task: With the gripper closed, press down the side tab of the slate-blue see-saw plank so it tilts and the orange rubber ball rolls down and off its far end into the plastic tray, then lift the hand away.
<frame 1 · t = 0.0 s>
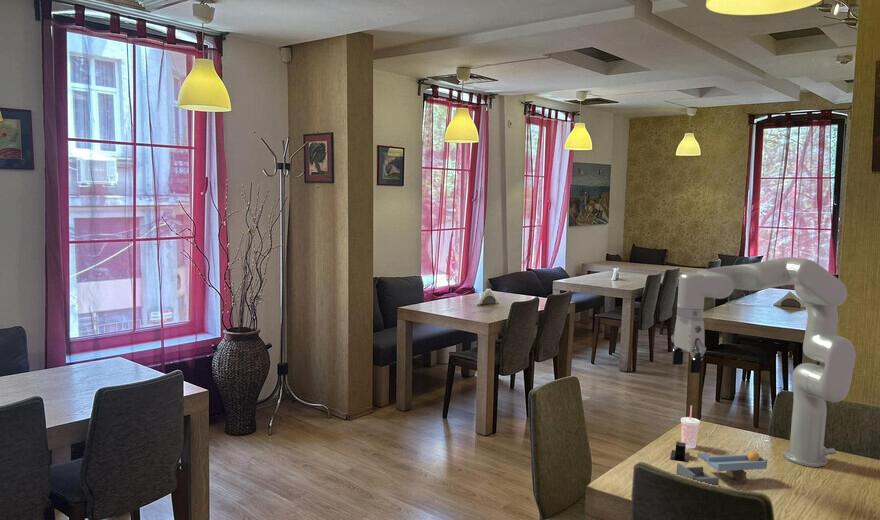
hand: (686, 368, 207), 31 cm above the table, tool pointing down, fingers open, 9 cm apart
tray: (696, 481, 199), on the table
beverage cup: (688, 446, 228), on the table
lever: (731, 458, 204), point 5 cm above the table, hinge at 0.0°, touching ball
fulcrum: (735, 479, 202), on the table
black boxy piece: (679, 458, 219), on the table
ball: (753, 457, 202), point 7 cm above the table, touching lever
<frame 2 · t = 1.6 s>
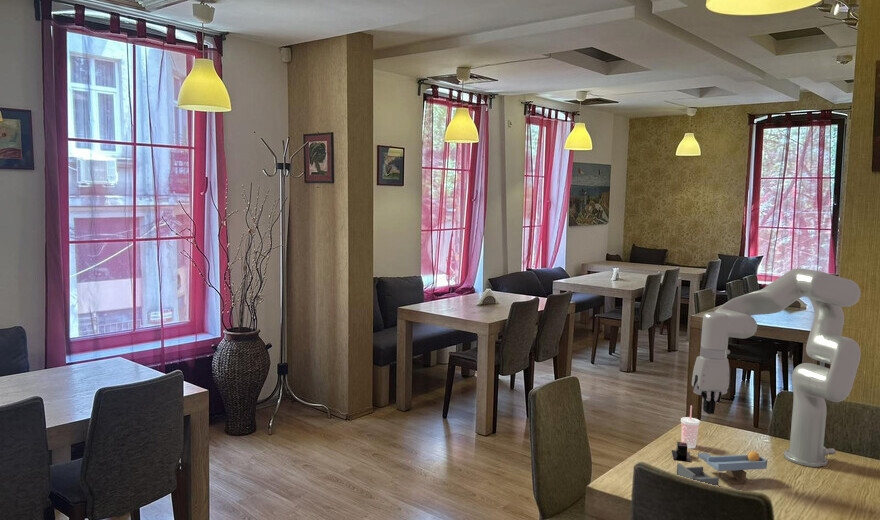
hand: (708, 412, 205), 19 cm above the table, tool pointing down, fingers closed
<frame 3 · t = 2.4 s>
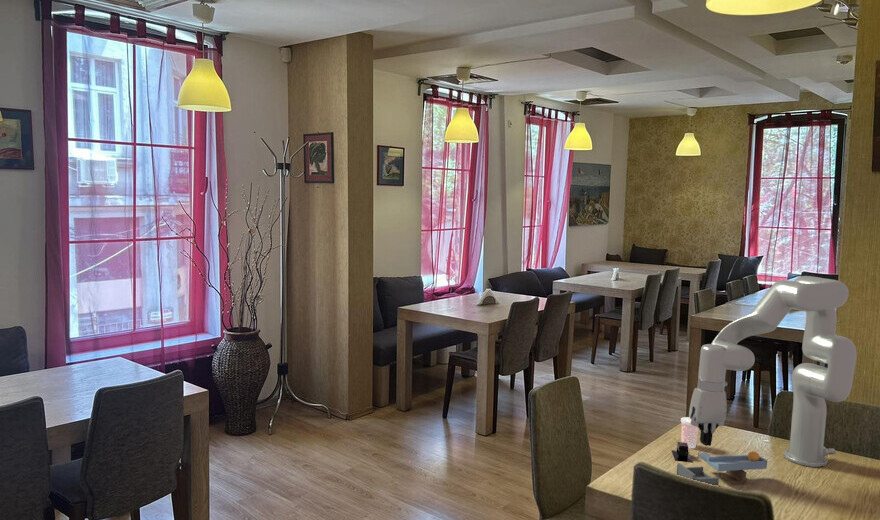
hand: (705, 444, 206), 9 cm above the table, tool pointing down, fingers closed
nothing on the table moved.
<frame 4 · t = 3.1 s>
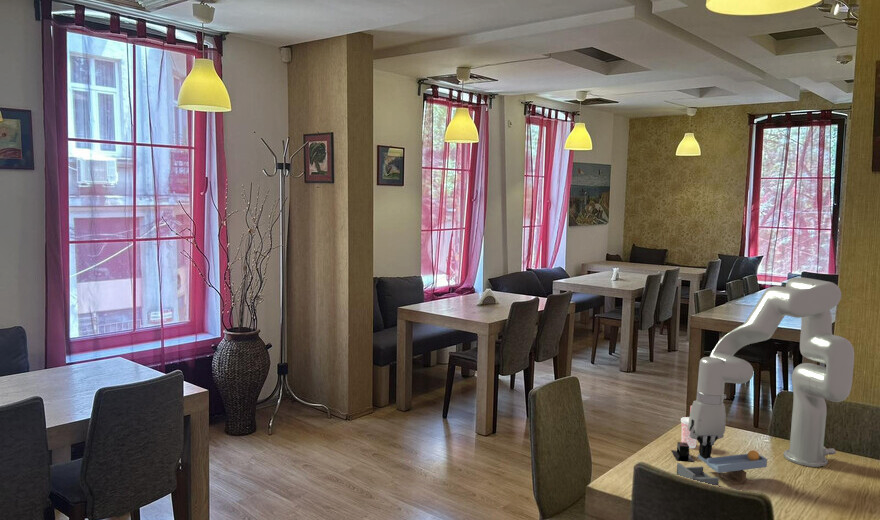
hand: (704, 456, 206), 5 cm above the table, tool pointing down, fingers closed
lever: (730, 458, 204), point 5 cm above the table, hinge at 3.5°, touching ball, gripper
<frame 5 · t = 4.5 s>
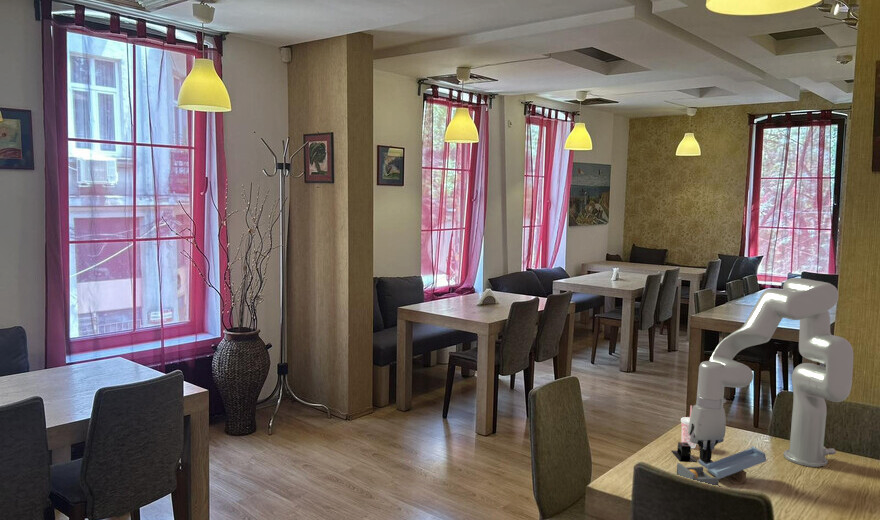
hand: (705, 460, 206), 3 cm above the table, tool pointing down, fingers closed
lever: (730, 458, 204), point 5 cm above the table, hinge at 16.9°, touching gripper
ball: (692, 475, 198), point 2 cm above the table, tilted 60°, touching tray
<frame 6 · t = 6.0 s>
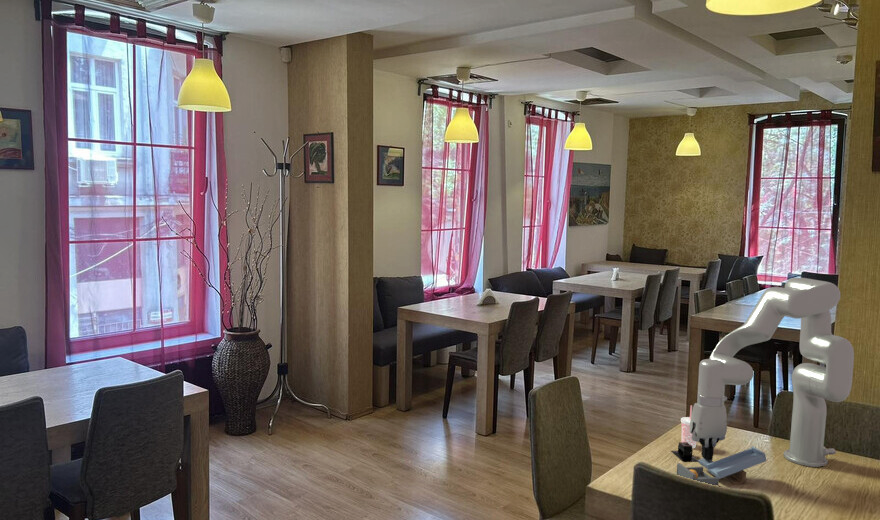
hand: (707, 458, 206), 4 cm above the table, tool pointing down, fingers closed
lever: (730, 458, 204), point 5 cm above the table, hinge at 16.9°
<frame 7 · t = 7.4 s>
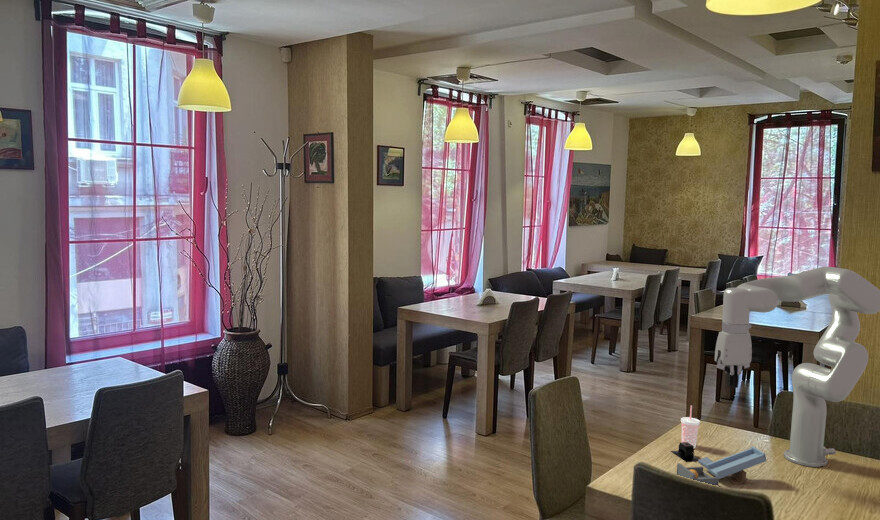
hand: (732, 386, 208), 26 cm above the table, tool pointing down, fingers closed
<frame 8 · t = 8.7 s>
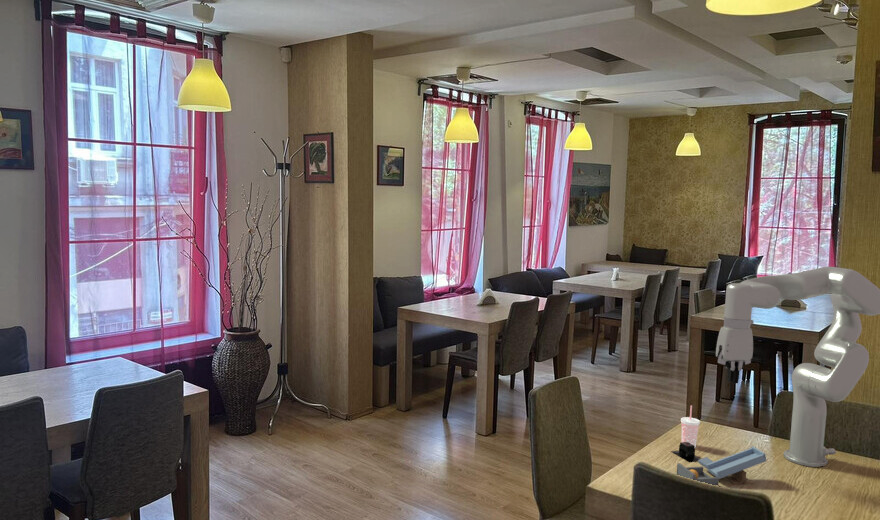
hand: (732, 382, 208), 27 cm above the table, tool pointing down, fingers closed
at the end: ball inside the target area on the tray (1.7 cm from its centre), point 2.0 cm above the tray's base; lever at +17° (first picture: +0°) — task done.
